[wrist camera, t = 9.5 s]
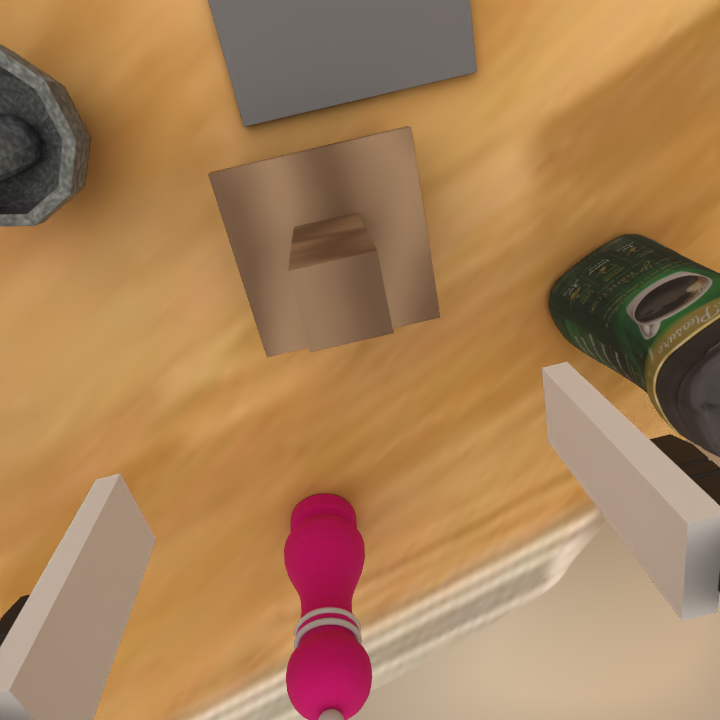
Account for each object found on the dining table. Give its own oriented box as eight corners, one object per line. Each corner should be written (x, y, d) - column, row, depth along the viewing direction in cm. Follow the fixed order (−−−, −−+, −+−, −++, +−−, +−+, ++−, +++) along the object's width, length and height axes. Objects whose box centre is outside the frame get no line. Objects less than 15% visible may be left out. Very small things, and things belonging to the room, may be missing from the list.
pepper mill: (367, 536, 52) (398, 758, 34) (297, 553, 53) (292, 782, 35) (350, 480, 49) (375, 692, 31) (276, 499, 49) (258, 719, 31)
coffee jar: (575, 357, 46) (728, 497, 29) (531, 290, 43) (674, 403, 26) (674, 289, 44) (900, 397, 27) (636, 214, 41) (863, 283, 24)
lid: (268, 350, 36) (252, 440, 26) (211, 172, 31) (165, 199, 21) (436, 311, 36) (485, 386, 26) (407, 126, 31) (455, 131, 21)
